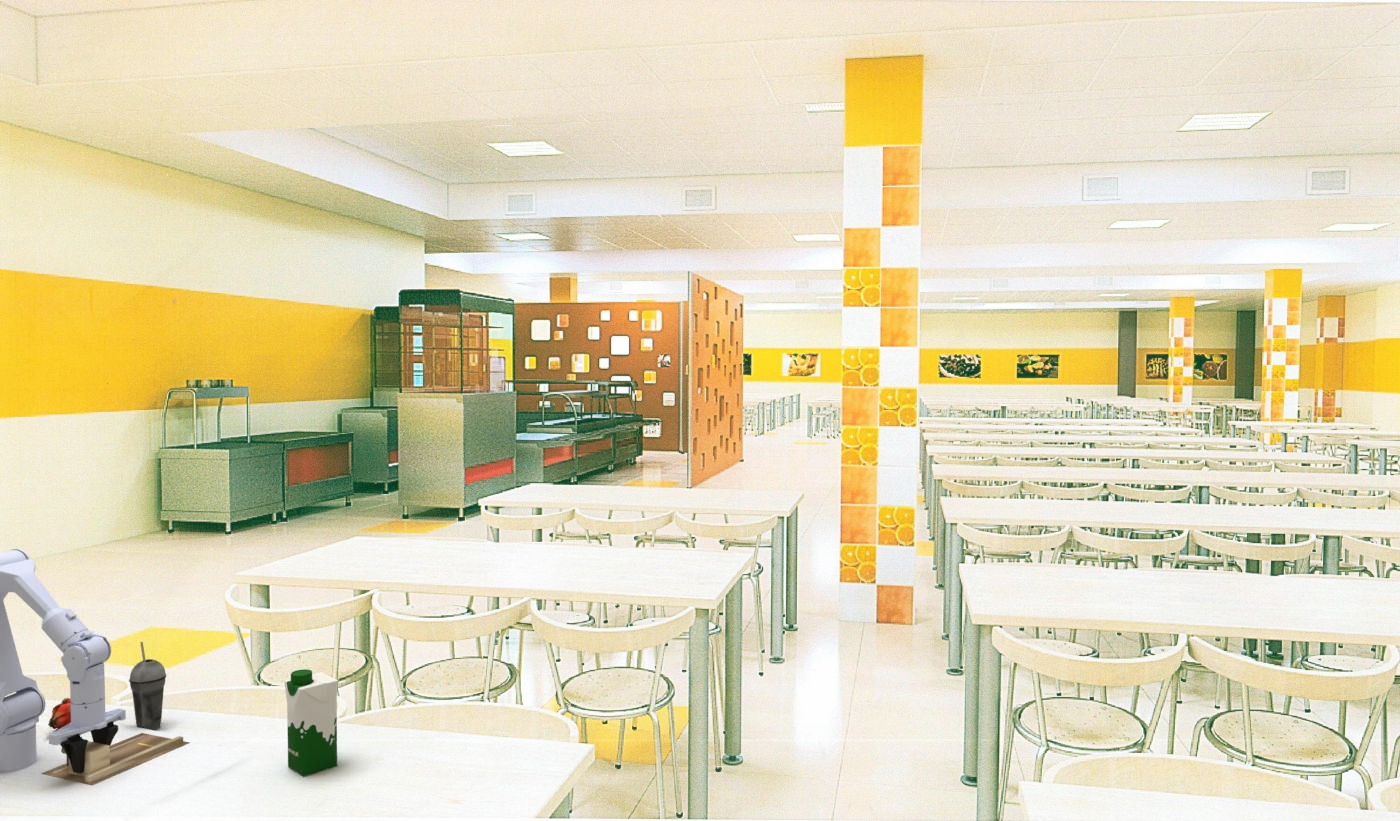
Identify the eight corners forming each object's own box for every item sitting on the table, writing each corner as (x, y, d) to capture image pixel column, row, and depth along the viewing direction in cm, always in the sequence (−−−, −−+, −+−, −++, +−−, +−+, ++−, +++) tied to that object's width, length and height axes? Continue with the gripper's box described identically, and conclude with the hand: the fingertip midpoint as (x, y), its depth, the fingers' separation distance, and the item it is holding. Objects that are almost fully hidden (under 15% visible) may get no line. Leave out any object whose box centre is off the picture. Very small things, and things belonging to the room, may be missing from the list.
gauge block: (55, 770, 190) (55, 745, 190) (75, 762, 194) (74, 737, 193) (91, 778, 186) (90, 752, 186) (110, 770, 190) (109, 745, 190)
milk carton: (281, 766, 196) (280, 670, 195) (324, 753, 203) (323, 660, 202) (300, 779, 190) (299, 680, 189) (344, 765, 197) (343, 669, 196)
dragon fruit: (104, 726, 220) (56, 754, 209) (78, 702, 221) (28, 729, 210) (117, 701, 217) (68, 728, 206) (90, 677, 218) (40, 703, 207)
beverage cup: (174, 726, 216) (172, 639, 215) (140, 737, 210) (138, 647, 209) (156, 719, 220) (154, 633, 219) (123, 730, 214) (121, 641, 213)
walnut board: (41, 780, 188) (41, 767, 188) (142, 739, 209) (141, 727, 209) (92, 792, 184) (92, 778, 183) (190, 749, 204) (190, 736, 204)
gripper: (66, 714, 180) (68, 785, 181) (136, 690, 194) (137, 756, 195) (40, 709, 183) (42, 779, 184) (110, 685, 196) (112, 750, 197)
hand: (89, 767), depth 189 cm, fingers closed on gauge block, 4 cm apart
